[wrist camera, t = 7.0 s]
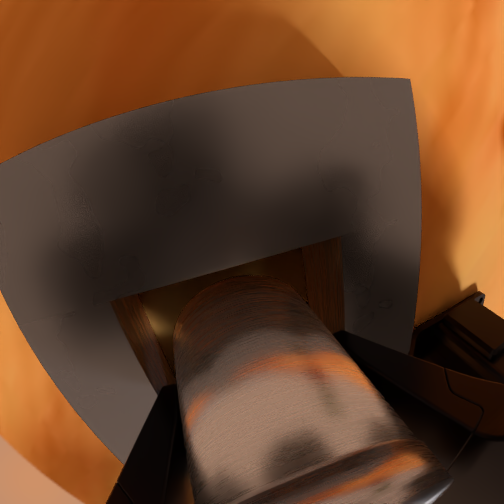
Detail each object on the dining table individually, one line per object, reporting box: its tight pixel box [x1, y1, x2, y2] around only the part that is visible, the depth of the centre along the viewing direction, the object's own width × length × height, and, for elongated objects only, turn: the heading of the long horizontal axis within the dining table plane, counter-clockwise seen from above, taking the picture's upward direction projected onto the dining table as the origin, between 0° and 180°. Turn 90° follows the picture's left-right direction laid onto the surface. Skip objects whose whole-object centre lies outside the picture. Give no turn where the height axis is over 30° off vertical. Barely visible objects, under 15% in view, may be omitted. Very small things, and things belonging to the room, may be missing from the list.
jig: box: [0, 77, 422, 464], centre depth 10 cm, size 14×12×3 cm
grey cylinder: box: [173, 275, 454, 504], centre depth 6 cm, size 4×4×7 cm
